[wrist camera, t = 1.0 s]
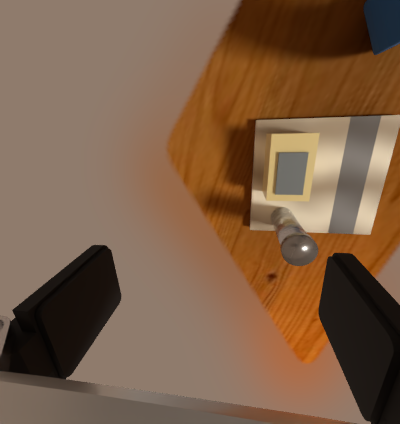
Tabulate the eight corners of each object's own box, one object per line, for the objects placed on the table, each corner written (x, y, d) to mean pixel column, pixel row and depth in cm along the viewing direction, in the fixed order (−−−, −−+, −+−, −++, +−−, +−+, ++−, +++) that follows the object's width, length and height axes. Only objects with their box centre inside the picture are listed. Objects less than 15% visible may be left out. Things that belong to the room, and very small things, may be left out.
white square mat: (255, 120, 26) (256, 120, 25) (396, 115, 24) (402, 114, 23) (249, 226, 31) (250, 229, 30) (365, 231, 29) (370, 234, 28)
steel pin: (270, 205, 28) (283, 235, 20) (296, 206, 28) (320, 237, 20) (268, 227, 30) (280, 264, 21) (293, 228, 29) (315, 266, 21)
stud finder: (266, 133, 26) (272, 134, 22) (307, 132, 25) (320, 132, 21) (262, 191, 28) (266, 201, 24) (299, 191, 27) (310, 202, 23)
